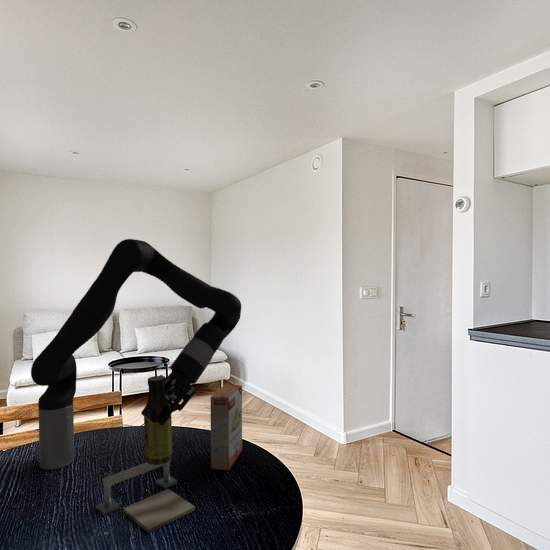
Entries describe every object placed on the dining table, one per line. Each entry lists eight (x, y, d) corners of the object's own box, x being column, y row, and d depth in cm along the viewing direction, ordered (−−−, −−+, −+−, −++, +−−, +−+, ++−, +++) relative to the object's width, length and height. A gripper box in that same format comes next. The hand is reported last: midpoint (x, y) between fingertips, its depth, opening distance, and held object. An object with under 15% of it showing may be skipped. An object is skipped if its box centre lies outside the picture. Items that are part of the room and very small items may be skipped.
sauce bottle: (149, 455, 102) (147, 374, 102) (175, 454, 102) (173, 373, 102) (141, 467, 95) (139, 381, 95) (168, 466, 95) (166, 380, 95)
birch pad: (123, 511, 98) (123, 508, 98) (168, 491, 107) (168, 488, 107) (148, 533, 90) (148, 529, 90) (195, 510, 99) (195, 506, 99)
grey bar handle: (95, 508, 100) (95, 478, 100) (169, 478, 114) (169, 451, 114) (102, 515, 97) (102, 484, 97) (177, 483, 111) (177, 456, 111)
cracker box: (230, 471, 117) (229, 397, 117) (209, 470, 119) (208, 396, 118) (243, 450, 131) (242, 384, 131) (225, 449, 132) (224, 383, 132)
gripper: (168, 348, 109) (126, 404, 100) (200, 355, 99) (156, 418, 90) (186, 364, 112) (146, 420, 104) (219, 373, 102) (178, 435, 94)
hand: (151, 419), depth 97 cm, fingers closed on sauce bottle, 6 cm apart
